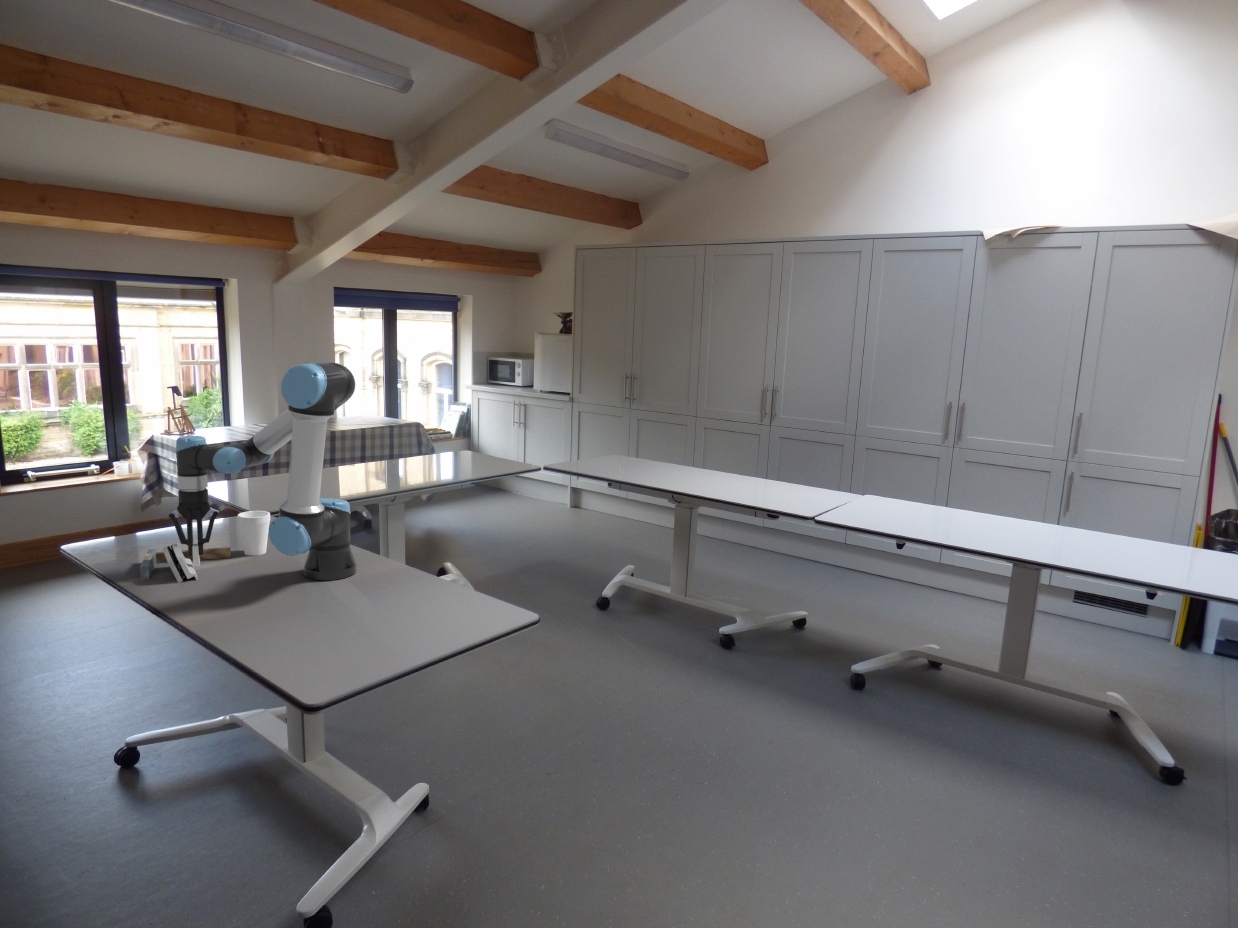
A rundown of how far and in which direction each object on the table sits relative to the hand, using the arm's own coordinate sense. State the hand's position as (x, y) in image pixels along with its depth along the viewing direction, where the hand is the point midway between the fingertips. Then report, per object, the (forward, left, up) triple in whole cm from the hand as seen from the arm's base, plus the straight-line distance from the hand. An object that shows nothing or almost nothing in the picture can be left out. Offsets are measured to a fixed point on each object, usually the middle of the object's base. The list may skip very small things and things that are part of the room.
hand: (196, 565), depth 214 cm
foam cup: (-15, -15, -2) cm, 22 cm away
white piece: (+4, +1, -2) cm, 5 cm away
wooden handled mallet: (+3, -4, -2) cm, 5 cm away
